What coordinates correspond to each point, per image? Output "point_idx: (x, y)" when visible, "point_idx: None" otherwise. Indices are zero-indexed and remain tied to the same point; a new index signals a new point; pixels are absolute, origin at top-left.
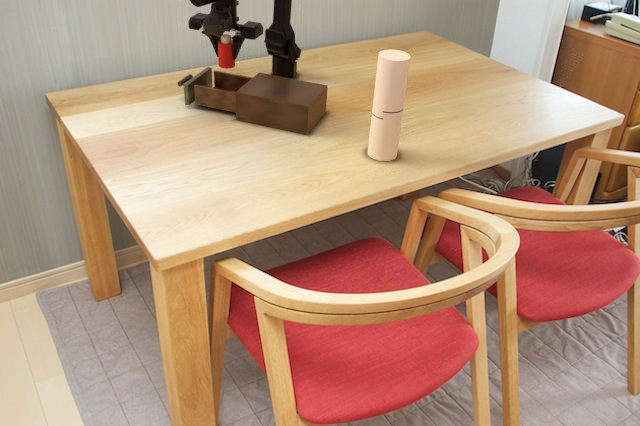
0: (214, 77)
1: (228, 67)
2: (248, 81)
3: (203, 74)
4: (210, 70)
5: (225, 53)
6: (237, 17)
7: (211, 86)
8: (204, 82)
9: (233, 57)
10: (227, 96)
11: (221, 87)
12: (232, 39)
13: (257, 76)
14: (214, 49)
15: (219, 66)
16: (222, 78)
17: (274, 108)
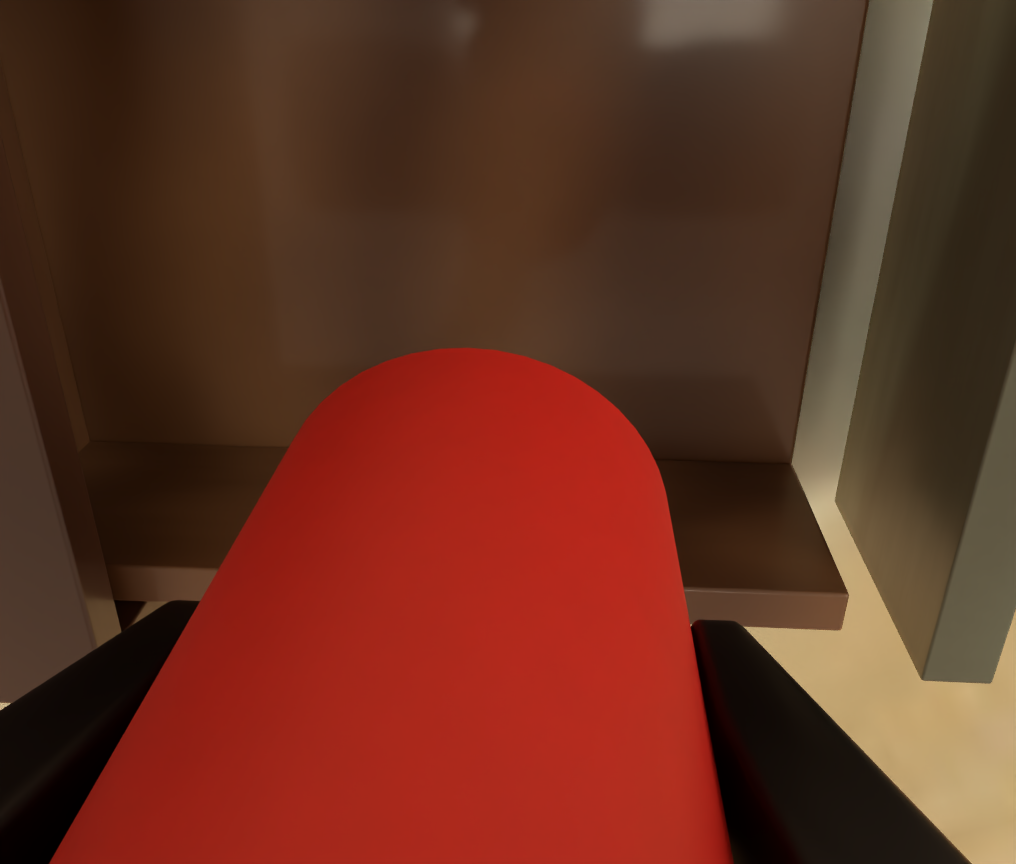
0: (815, 534)
1: (339, 392)
2: (6, 328)
3: (984, 421)
4: (919, 622)
5: (297, 602)
6: None
7: (843, 489)
8: (923, 375)
9: (174, 638)
10: None
11: (687, 462)
12: None
13: (24, 571)
14: (863, 768)
15: (592, 388)
16: (682, 534)
17: None
